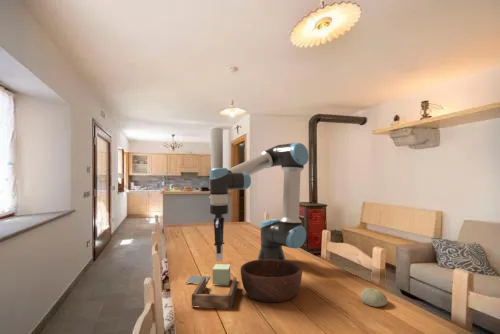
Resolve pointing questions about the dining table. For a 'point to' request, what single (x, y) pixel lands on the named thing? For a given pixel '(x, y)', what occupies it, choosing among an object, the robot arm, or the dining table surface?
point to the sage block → (221, 274)
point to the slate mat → (196, 279)
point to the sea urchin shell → (373, 297)
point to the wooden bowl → (271, 279)
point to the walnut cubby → (213, 296)
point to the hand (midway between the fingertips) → (219, 260)
